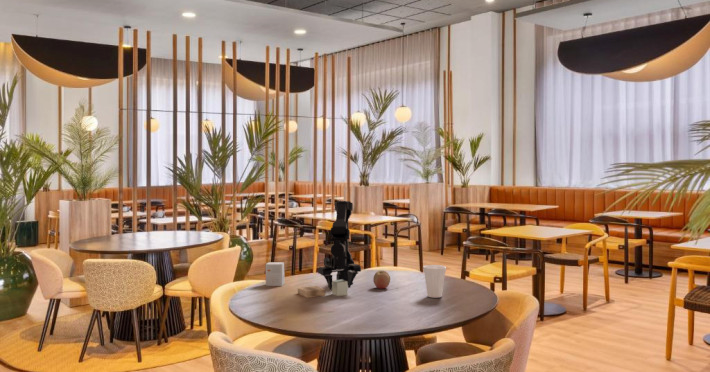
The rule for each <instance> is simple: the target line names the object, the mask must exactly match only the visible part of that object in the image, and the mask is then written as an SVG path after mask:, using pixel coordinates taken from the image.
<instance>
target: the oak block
mask: <svg viewBox="0 0 710 372" xmlns="http://www.w3.org/2000/svg"><path fill="white" fill-rule="evenodd" d="M297 294H298V295H300V296H302V297H303V298H307V299H308V298H314V297H323V296H326V289H325V288H323V287H321V286H318V285H313V286H304V287H303V286H302V287H298V288H297Z"/></svg>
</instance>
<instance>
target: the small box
mask: <svg viewBox="0 0 710 372" xmlns="http://www.w3.org/2000/svg"><path fill="white" fill-rule="evenodd" d="M284 285H285V262H283V261H282V262H280V261H277V262H276V261H275V262H273V261H272V262H270V261H269V262H266V264H265V286H266V287H283V286H284Z"/></svg>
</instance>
